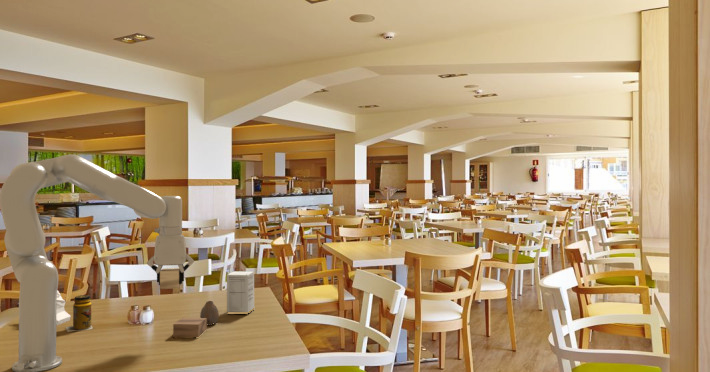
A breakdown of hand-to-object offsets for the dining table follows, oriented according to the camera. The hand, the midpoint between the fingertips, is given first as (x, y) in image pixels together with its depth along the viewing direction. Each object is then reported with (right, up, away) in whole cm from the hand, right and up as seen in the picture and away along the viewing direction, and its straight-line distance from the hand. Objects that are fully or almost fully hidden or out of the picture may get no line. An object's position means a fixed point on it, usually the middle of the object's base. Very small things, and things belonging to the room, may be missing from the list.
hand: (170, 283), depth 179 cm
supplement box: (+15, -20, +42) cm, 49 cm away
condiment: (-39, -20, +15) cm, 47 cm away
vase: (+7, -20, +23) cm, 31 cm away
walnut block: (+4, -20, +9) cm, 22 cm away
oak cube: (0, -1, 0) cm, 1 cm away
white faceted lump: (-56, -20, +24) cm, 64 cm away
